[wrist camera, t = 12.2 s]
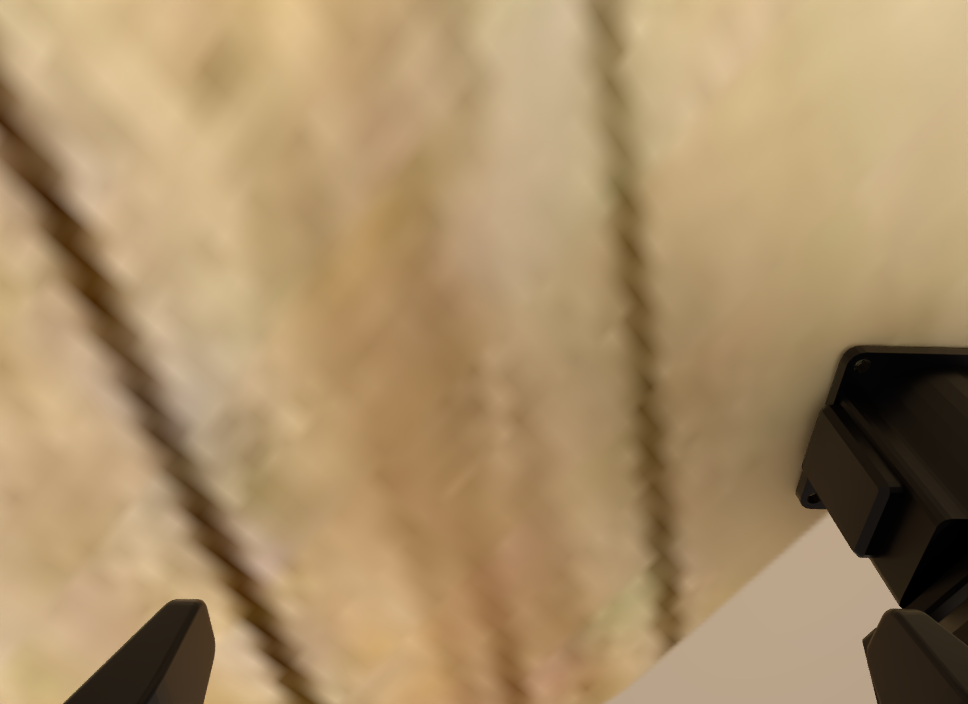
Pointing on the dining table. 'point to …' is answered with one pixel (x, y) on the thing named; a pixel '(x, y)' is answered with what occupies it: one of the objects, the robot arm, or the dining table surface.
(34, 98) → the dining table surface
